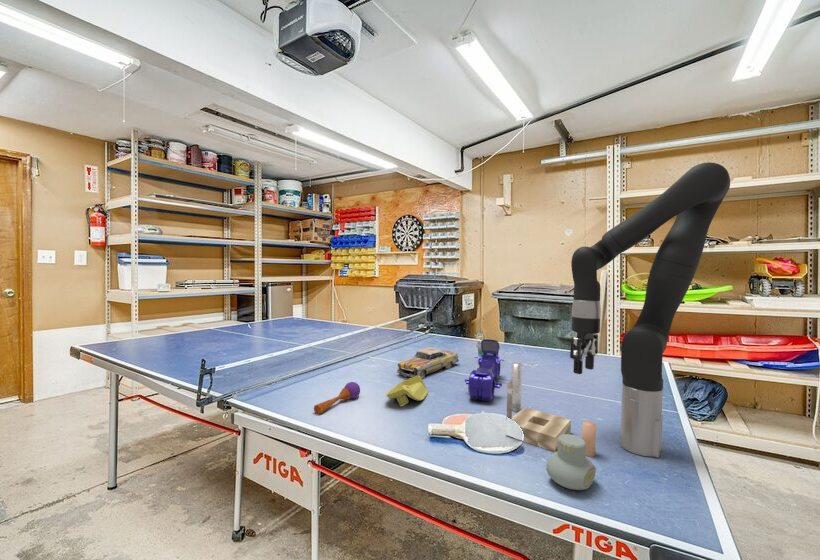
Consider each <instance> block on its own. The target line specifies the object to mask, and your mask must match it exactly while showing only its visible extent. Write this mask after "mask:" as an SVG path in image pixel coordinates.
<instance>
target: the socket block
mask: <svg viewBox="0 0 820 560" xmlns="http://www.w3.org/2000/svg"><path fill="white" fill-rule="evenodd" d="M506 384H507V385H506V388H507V389H506V418H507V417H508V418H510V419H513V420H514V421H515V422H516V423H517V424H518V425H519V426H520V428H521V429H522V431H523V434H524V442H523V443H526V444H529V445H531V446H535V447H538V446H539V447H538V448H541V447H542V448H541V449H545V450H547V451H551V452H553V453H554V452H557V450H558V437H559V436H561V435H564V434H570V435H571V433H572V432H571V429H572V428H571V427H572V426H571V425H572V420H571V419H570V418H568V417H567V418H566V417H562V416H559V415H555V414H551V413H548V412H544V411H540V410H536V409H532V408H530V407H529V408H528V407H525V406H524V407H523V408H521V411H519V412H516V414H514V415H513V416H512V413H513V411H512V380H507V383H506Z"/></svg>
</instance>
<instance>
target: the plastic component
mask: <svg viewBox="0 0 820 560" xmlns="http://www.w3.org/2000/svg"><path fill="white" fill-rule="evenodd" d="M427 387H428V386H427V385H426V384H425V381H423V379H421V377H420V376H417V375H415V377H411V378H410V377H409V378H408V379H406V380H402V381H401V382H398V383H397V384H396V385H394V387H393V388H391V389H389V391H388V392H387V393H386V394H385V395H386V396H387V398H388V399H396V400H397V403H398V405H399V406H400V407H402V406H405V405H406V404H408V403H409V399H408V397H409V398H410V399H413V400H414V401H418V402H419V401H422V400H425V398H426V397H427V395H428V394H429V390H428V388H427Z"/></svg>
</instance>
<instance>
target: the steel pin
mask: <svg viewBox="0 0 820 560" xmlns="http://www.w3.org/2000/svg"><path fill="white" fill-rule="evenodd" d="M522 368H523V364H522V363H521V362H515V361H514V362H512V363H511V381H512V413H513V412H514V413H518V412H519V411H521V410H522V378H523V377H522V375H523V374H522V372H523V371H522V370H523V369H522Z"/></svg>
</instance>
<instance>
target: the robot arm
mask: <svg viewBox="0 0 820 560" xmlns="http://www.w3.org/2000/svg"><path fill="white" fill-rule="evenodd" d="M730 187H731V178H730V174H729V172H728V170H727V168H725V166H723V165H722V164H720V163H716V162H702V163H699V164H696V165H695V166H693V167H691V168H689V170H686V172H685V173H684V174H683V175H682V176H680V177H679V178H678V179H677V180H676V181H675V182H674V183H673V184H672V185H671V186H670V187H669V188H667V189H666V190H664V191H663V192H662V193H661V194H659V195H658V196H657V197H656V198H655V199H654V200H652V201H651V202H649V203H648V204H647V205H645V206H644V207H642V208H641V209H639V210H638V211H636V212H635V213H633V214H632V215H630V216H628V217H627V218H626V219H624V220H623V221H620V223H618V224H616V225H615V226H613V227H612V228H610V229H609V230H608V231H606V232H605V233H604V234H603V235H602V237H601V239H600V240H598V241H597V242H596V243H595V244H593V245H591V246H580V247H579V248H576V249H575V251H574V252H573V253H572V256H571V261H570V265H571V274H572V281H573V300H572V301H573V302H572V306H571V307H572V308H571V331H572V332H575V333H576V337H573V336H572V337H571V338H570V350H569V351H570V354H569V359H572V360H573V370H572V371H573V374H576V375H582V374H583V369H584V368H585V369H587V370H590V371H591V370H594V367H595V366H594V365H595V357H596V355H598V353H599V335H598V334H600V333H601V312H602V311H601V309H602V308H601V283H600V282H599V280H598V270H600V269H602V268H604V267H605V266H607V265H608V264H609V263H610V262H612V261H613V260H614V259H616V258H617V257H618V256H619V255H620V254H623V253H624V252H626V251H627V250H629V249H631V248H632V247H635V246H636V245H637V244H639V243H640V242H642V241H644V239H646V238H647V237H649V236H650V235H651V234H653V233H654V232H655V231H656V230H658V229H659V228H660V227H661V226H663V225H664V224H666V223H667V222H669V221H670V220H672V219H673V218H675V219H674V222H673V223H672V226H671V228H670V229H669V231H668V232H667V233H666V235H665V237H664V239H663V241H662V242H661V244H660V245H659V248H658V249H657V252H656V253H655V257H654V259H653V262H652V265H651V267H650V269H649V274H648V276H647V277H648V278H647V281H646V288H645V297H644V302H643V305H642V308H641V311H640V313H639V316H638V317H637V319H636V320H635V321H636V322H635V323H634V326H633V327H632V328H631V329H630V330H628V331H627V332H626V333H625V334H624V335H623V337H622V339H621V348H620V349H621V350H620V351H621V352H620V372H621V376H622V381H621V382H622V384H621V386H622V387H621V407H620V408H621V409H620V410H621V412H620V430H619V431H620V435H619V445H620V446H621V448H623V450H624V449H625V450H626V451H627V452H630V453H633V454H634V455H635V454H636V455H639V456H643V457H653V458H659V457H660V454H661V450H662V435H663V434H662V432H663V398H664V397H663V396H664V395H663V394H664V392H663V391H664V378H663V358H664V357H663V354H664V353H665V351H666V348H667V343H668V340H669V335H670V332H671V327H672V324H673V321H674V317H675V315H676V313H677V310H678V308H679V307H680V305H681V304H682V302H683V300H684V298H685V296H686V294H687V293H688V290H689V288H690V286H691V284H692V281H693V279H694V277H695V274H696V272H697V269H698V267H699V264H700V261H701V257H702V255H703V251H704V248H705V244H706V239H707V237H708V232H709V228H710V227H711V224H712V221H713V219H714V218H715V215H716V213H717V212H718V209H719V208H720V205H721V204H722V202H723V200H724V199H725V197H726V195H727V193H728V192H729V190H730ZM584 357H585V358H584ZM583 360H585V361H584V362H583ZM583 363H584V367H583Z"/></svg>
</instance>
